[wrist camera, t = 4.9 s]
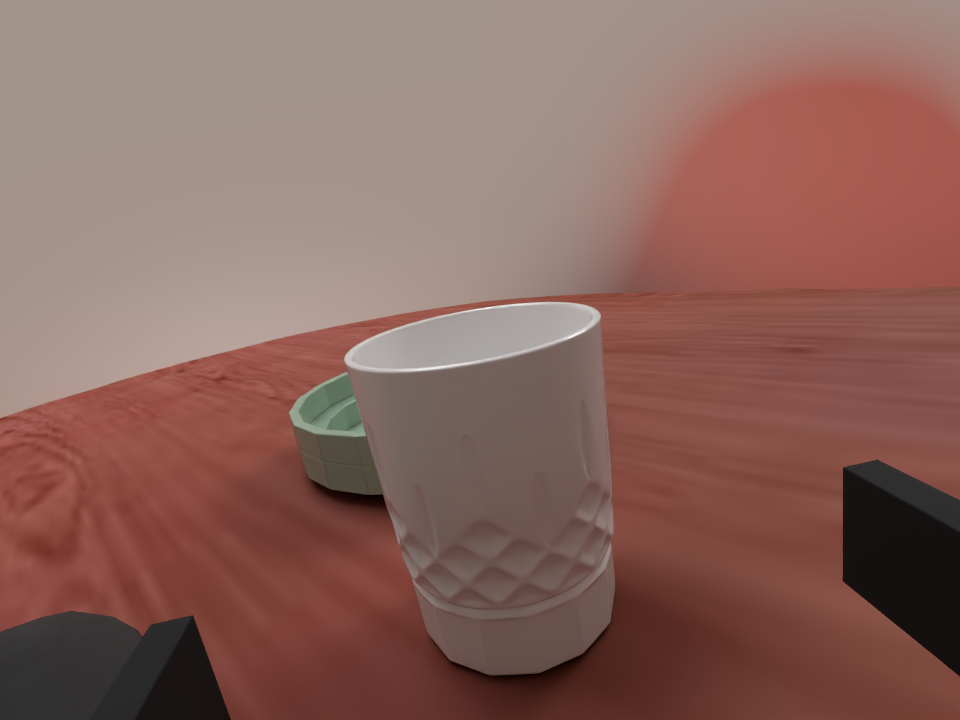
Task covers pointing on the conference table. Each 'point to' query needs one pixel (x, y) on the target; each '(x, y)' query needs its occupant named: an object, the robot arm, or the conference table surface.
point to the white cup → (497, 477)
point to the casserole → (61, 665)
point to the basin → (334, 438)
